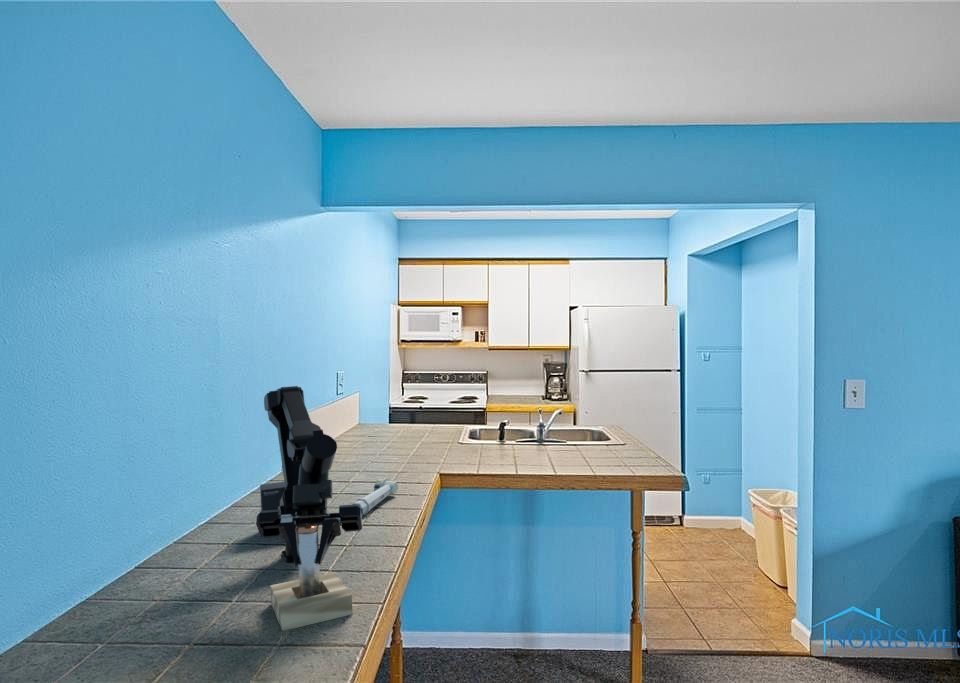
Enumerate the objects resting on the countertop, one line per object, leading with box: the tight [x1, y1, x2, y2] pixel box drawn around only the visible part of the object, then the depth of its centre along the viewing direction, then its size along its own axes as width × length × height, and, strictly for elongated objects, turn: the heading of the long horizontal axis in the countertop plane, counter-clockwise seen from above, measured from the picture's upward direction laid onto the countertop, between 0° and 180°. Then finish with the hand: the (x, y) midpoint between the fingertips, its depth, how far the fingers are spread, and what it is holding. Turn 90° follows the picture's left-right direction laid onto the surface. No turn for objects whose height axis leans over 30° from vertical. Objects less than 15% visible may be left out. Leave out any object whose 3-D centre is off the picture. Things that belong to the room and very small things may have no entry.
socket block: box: [269, 571, 353, 632], centre depth 114 cm, size 12×12×4 cm
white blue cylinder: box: [351, 477, 399, 516], centre depth 180 cm, size 5×7×25 cm
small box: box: [259, 481, 285, 512], centre depth 160 cm, size 13×7×12 cm, turn 111°
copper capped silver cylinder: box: [297, 523, 321, 599], centre depth 114 cm, size 4×4×13 cm
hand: (307, 564), depth 113 cm, fingers closed on copper capped silver cylinder, 4 cm apart
